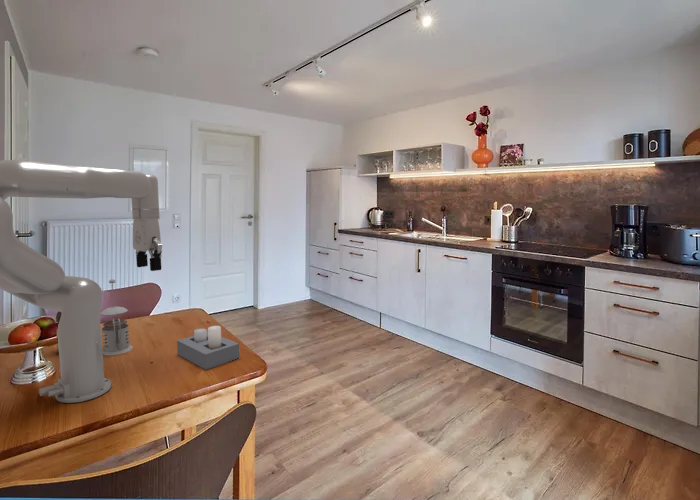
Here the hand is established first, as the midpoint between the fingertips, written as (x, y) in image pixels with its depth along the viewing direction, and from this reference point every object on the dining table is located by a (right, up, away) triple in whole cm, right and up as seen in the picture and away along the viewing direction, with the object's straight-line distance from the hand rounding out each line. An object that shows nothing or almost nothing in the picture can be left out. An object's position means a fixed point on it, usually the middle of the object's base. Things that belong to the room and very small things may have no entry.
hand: (149, 268), depth 124 cm
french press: (-17, -29, +11) cm, 35 cm away
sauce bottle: (-32, -29, +9) cm, 44 cm away
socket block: (+16, -30, +7) cm, 35 cm away
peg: (+20, -29, +4) cm, 36 cm away
